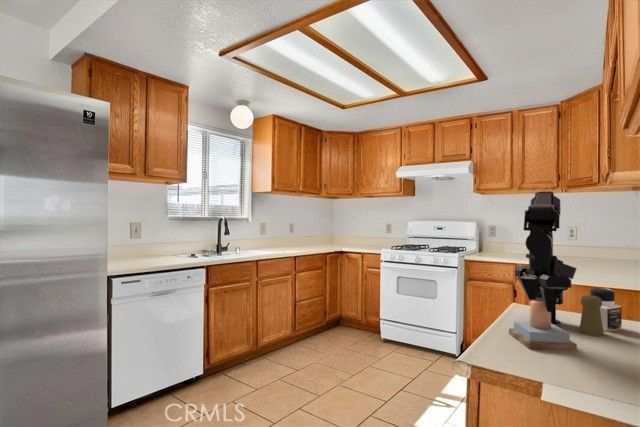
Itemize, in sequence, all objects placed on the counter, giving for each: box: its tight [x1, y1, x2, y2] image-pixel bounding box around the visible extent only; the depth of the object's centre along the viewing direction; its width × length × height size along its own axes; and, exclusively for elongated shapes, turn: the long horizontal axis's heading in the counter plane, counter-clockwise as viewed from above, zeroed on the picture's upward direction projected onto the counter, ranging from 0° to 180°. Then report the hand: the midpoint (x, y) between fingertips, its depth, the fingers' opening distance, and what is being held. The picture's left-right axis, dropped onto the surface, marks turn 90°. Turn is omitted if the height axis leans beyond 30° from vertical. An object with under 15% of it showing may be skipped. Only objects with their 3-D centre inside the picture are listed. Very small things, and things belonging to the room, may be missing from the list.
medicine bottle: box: [589, 287, 623, 332], centre depth 116 cm, size 7×7×12 cm
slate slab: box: [513, 320, 571, 343], centre depth 103 cm, size 10×10×2 cm
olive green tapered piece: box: [578, 294, 605, 337], centre depth 111 cm, size 6×6×11 cm
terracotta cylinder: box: [529, 299, 551, 330], centre depth 103 cm, size 5×5×7 cm
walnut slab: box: [508, 328, 578, 351], centre depth 103 cm, size 12×12×2 cm
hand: (540, 307), depth 103 cm, fingers open, 9 cm apart
